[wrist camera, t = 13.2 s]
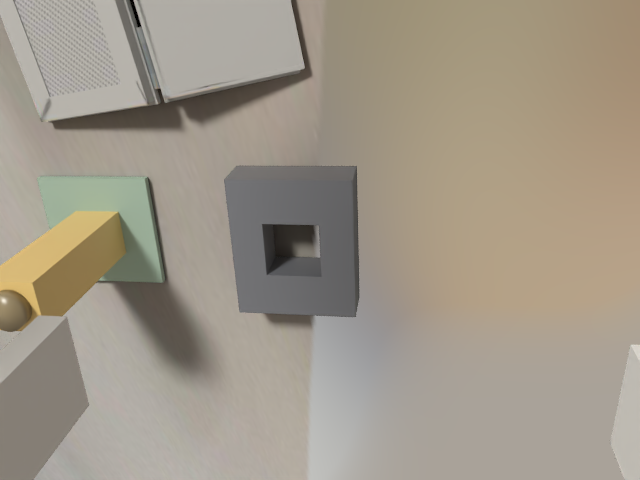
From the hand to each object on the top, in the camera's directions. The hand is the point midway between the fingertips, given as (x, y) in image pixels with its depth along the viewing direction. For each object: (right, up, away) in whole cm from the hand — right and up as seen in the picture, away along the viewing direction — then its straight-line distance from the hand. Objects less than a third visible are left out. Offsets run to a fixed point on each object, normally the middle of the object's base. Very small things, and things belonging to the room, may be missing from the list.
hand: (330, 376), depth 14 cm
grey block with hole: (-2, +4, +37) cm, 38 cm away
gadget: (-14, +22, +32) cm, 41 cm away
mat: (-20, +4, +40) cm, 45 cm away
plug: (-20, +4, +40) cm, 44 cm away
